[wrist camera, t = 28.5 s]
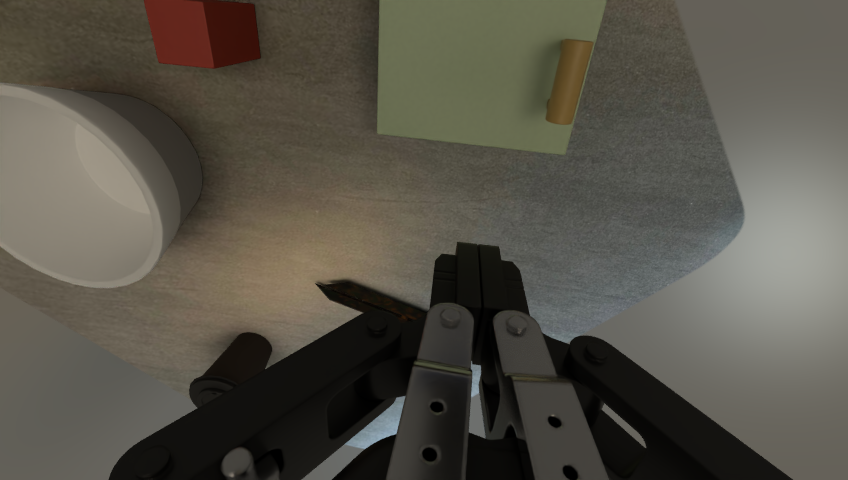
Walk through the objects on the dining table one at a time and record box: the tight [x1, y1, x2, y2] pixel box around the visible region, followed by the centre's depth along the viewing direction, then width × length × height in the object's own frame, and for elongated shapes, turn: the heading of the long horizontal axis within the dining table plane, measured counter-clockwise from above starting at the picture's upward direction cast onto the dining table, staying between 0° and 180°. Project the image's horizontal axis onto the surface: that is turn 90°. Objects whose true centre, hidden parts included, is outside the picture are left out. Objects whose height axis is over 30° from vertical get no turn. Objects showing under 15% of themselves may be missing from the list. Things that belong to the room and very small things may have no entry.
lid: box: [377, 0, 607, 155], centre depth 27 cm, size 15×12×5 cm
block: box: [144, 0, 261, 69], centre depth 32 cm, size 4×4×8 cm
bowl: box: [0, 83, 203, 288], centre depth 39 cm, size 19×19×11 cm
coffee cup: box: [189, 332, 272, 408], centre depth 52 cm, size 8×8×10 cm
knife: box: [315, 282, 472, 361], centre depth 50 cm, size 25×6×1 cm, turn 61°
